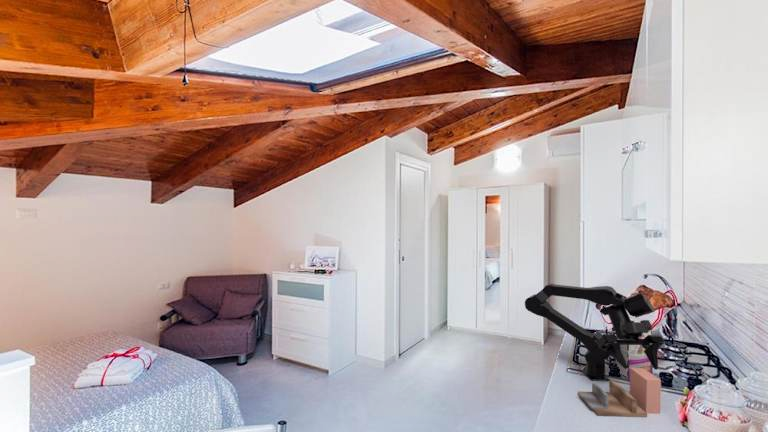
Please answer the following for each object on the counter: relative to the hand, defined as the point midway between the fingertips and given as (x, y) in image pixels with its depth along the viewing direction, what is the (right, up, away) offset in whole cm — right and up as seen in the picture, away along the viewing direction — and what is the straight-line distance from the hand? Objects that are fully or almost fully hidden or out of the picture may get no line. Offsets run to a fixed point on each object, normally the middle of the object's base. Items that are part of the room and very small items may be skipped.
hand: (641, 368), depth 115 cm
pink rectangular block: (0, -11, -2) cm, 11 cm away
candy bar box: (+11, -10, +20) cm, 25 cm away
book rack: (-10, -11, -1) cm, 15 cm away
